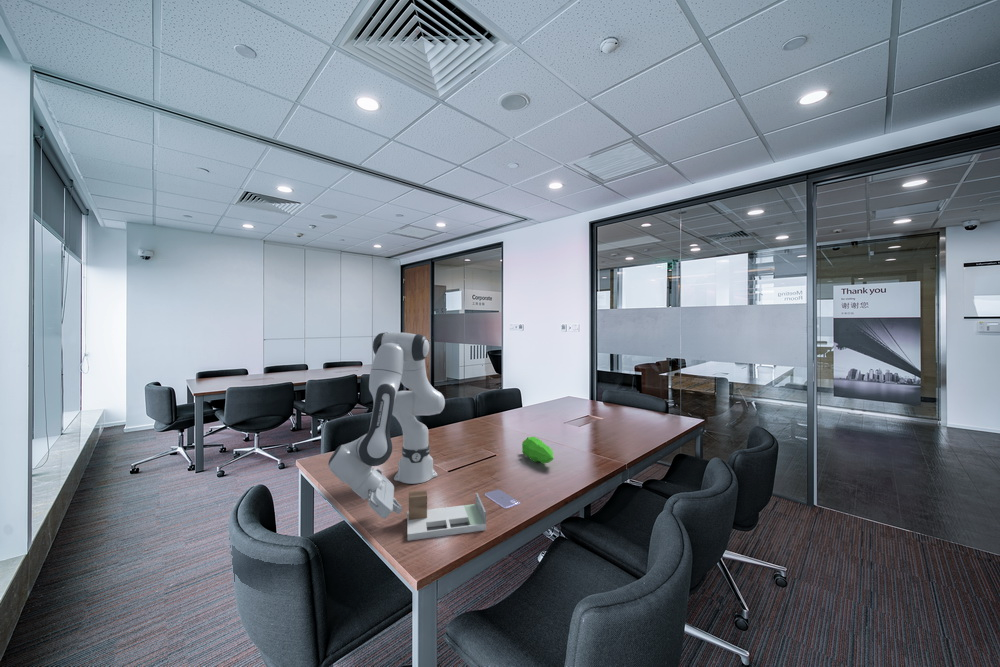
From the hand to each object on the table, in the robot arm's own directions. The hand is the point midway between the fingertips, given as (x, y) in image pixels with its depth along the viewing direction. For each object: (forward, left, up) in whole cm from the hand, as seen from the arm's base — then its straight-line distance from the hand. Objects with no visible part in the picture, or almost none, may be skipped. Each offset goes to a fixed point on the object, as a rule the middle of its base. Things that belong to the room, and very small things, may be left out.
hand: (400, 510), depth 126 cm
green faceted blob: (-45, +66, -5) cm, 81 cm away
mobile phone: (-9, +38, -5) cm, 40 cm away
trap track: (+4, +15, -4) cm, 16 cm away
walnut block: (0, +6, -2) cm, 6 cm away
